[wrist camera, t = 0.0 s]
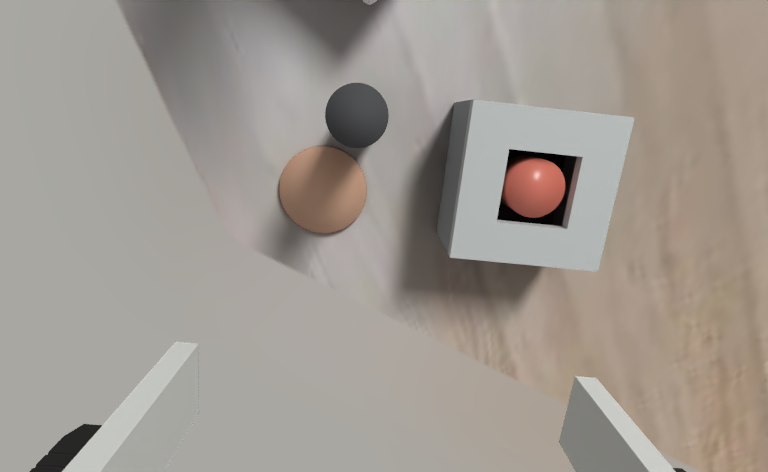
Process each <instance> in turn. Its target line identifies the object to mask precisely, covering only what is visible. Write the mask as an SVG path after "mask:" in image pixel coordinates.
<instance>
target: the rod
mask: <svg viewBox="0 0 768 472" xmlns="http://www.w3.org/2000/svg"><path fill="white" fill-rule="evenodd" d="M325 117H326V123H327V126H328V129H329V131H330V133H331V134H332V135H333V137H334V138H335V139H336V140H337V141H339V142H340V143H342V144H343V145H345V146H348V147H353V148H362V147H367V146H369V145H371V144H373V143H375V142H376V141H377V140H378V139H379V138H380V137H381V136H382V135H383V133H384V131H385V129H386V127H387V123H388V109H387V105H386V102H385V100H384V99H383V97H382V96H381V94H380V93H379V92H378V91H377V90H376V89H374V88H373V87H371V86H369V85H366V84H362V83H351V84H347V85H344V86H342V87H340V88H339V89H338V90H336V91H335V92H334V93H333V95H332V96H331V97H330V99H329V101H328V103H327V107H326V115H325Z"/></svg>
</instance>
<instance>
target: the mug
mask: <svg viewBox="0 0 768 472" xmlns="http://www.w3.org/2000/svg"><path fill="white" fill-rule="evenodd" d="M362 1H364V2H365V3H366V4H367V5H371V4H373V3H375V2H376V1H377V0H362Z"/></svg>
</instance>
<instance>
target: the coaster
mask: <svg viewBox="0 0 768 472" xmlns="http://www.w3.org/2000/svg"><path fill="white" fill-rule="evenodd" d="M279 193H280V199H281V202H282V205H283V207H284V209H285V211H286V212H287V214H288V215H289V216H290V218H291V219H292V220H293V221H294V222H295V223H297V224H298V225H299V226H301V227H303V228H305V229H307V230H309V231H313V232H318V233H331V232H336V231H339V230H342V229H344V228H346V227H347V226H349V225H350V224H351V223H353V222H354V221H355V220H356V218H357V217H358V216H359V215H360V213H361V211H362V209H363V207H364V204H365V201H366V195H367V186H366V180H365V177H364V174H363V172H362V170H361V168H360V166H359V165H358V164H357V162H356V161H355V160H354V159H353V158H352V157H351V156H349V155H348V154H347V153H345V152H343V151H341V150H339V149H336V148H333V147H327V146H318V147H312V148H309V149H306V150H304V151H302V152H300V153H298V154H297V155H295V156H294V157H293V158H292V159H291V160H290V161H289V162H288V164H287V165H286V167H285V168H284V170H283V173H282V175H281V179H280V185H279Z"/></svg>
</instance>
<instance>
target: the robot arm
mask: <svg viewBox="0 0 768 472" xmlns="http://www.w3.org/2000/svg"><path fill="white" fill-rule="evenodd" d="M198 380H199V344H197V343H185V342H175V343H174V344H173V345H172V347H171V348H170V349H169V350H168V351H167V352H166V353H165V355H164V356H163V357H162V358H161V359H160V360H159V361H158V363H157V364H156V365H155V366H154V367H153V368H152V370H151V371H150V372H149V373H148V374H147V375H146V376H145V378H144V379H143V380H142V381H141V382H140V383H139V384H138V385H137V387H136V388H135V389H134V390H133V391H132V392H131V394H130V395H129V396H128V397H127V398H126V399H125V401H123V403H122V404H121V405H120V406H119V407H118V408H117V409H116V411H115V412H114V413H113V414H112V415H111V416H110V417H109V419H108V420H107V421H106V422H105V423H104V424H103V425H102V426H101V425H89V424H83V425H82V426H80V427H78V428H77V429H75V430H74V431H72V432H70V433H69V434H67V435H65V436H64V437H63V438H62V439H61V440H60V441H59V442H58V443H57V444H56V445H55V446H54V447H53V448H52V449H51V450H50V451H49V453H48V455H45V456H44V457H43V458H42V459H41V460H40V461H39V462H38V463H37V465H36V467H35V468H33V469H32V470H31V471H30V472H164V471H165V470H166V468H167V466H168V464H169V463H170V461H171V459H172V457H173V456H174V454H175V453H176V451H177V449H178V447H179V446H180V444H181V442H182V441H183V439H184V437H185V436H186V434H187V432H188V430H189V429H190V427H191V425H192V424H193V422H194V420H195V419H196V417H197V415H198V397H199V386H198V385H199V383H198V382H199V381H198ZM559 443H560V445H561V446H562V448H563V450H564V452H565V453H566V455H567V457H568V459H569V461H570V462H571V464H572V466H573V467H574V469H575V471H576V472H686V471H684V470H683V469H678V468H672V467H671V466H670V465H669V463H668V462H667V461H666V460H665V458H663V456H662V455H661V454H660V453H659V451H658V450H657V449H656V448H655V447H654V446H653V444H652V443H651V442H650V441H649V440H648V438H647V437H646V436H645V435H644V434H643V433H642V431H641V430H640V429H639V428H638V427H637V426H636V424H635V423H634V422H633V421H632V420H631V418H630V417H629V416H628V415H627V414H626V413H625V411H624V410H623V409H622V408H621V407H620V405H619V404H618V403H617V402H616V401H615V400H614V398H613V397H612V396H611V395H610V394H609V393H608V391H607V390H606V389H605V388H604V387H603V385H602V384H601V383H600V382H599V381H598V380H597V378H590V377H579V376H575V379H574V383H573V387H572V391H571V395H570V399H569V403H568V407H567V412H566V416H565V419H564V424H563V428H562V432H561V436H560V440H559Z"/></svg>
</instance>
